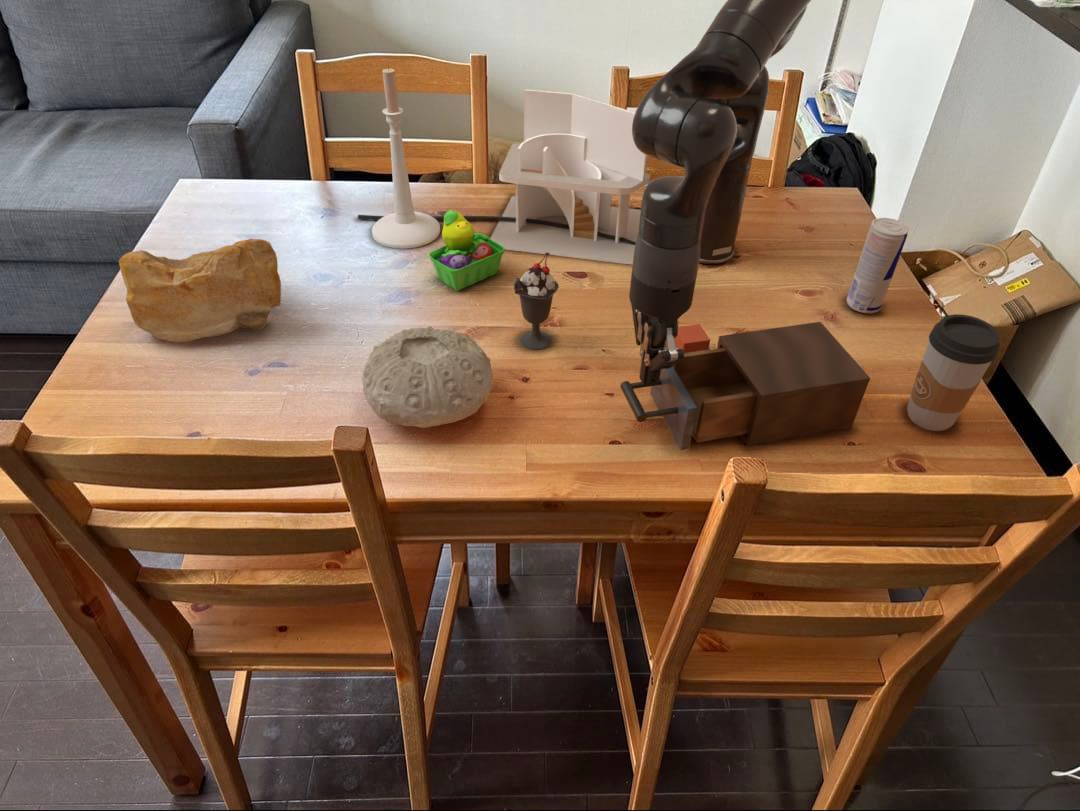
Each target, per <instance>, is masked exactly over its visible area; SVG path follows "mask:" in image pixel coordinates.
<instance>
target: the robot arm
mask: <svg viewBox="0 0 1080 811" xmlns="http://www.w3.org/2000/svg"><path fill="white" fill-rule="evenodd" d="M811 2H812V0H726V1H725V3H724V4H723V5H722V6H721V8H720V9H719V11H718V12H717V14H716V16H715V17H714V19H713V20H712V22H711V24H710V25H709V27H708V28H707V29H706V31H705V33H704V34H703V36H702V37H701V39H700V40H699V42H698V44H697V45H696V47H695V48H694V49H693V50H691V51H690V52H689V53H688V54H687V55H685V56H684V57H683V58H682V59H681V60H680V61H678V63H677V64H676V65H675V66H673V67H672V68H671V69H670V70H669V71H668V72H666V73H665V74H664V75H662V77H660V79H659V80H658V81H656V82H655V83H654V84H653V85H652V87H650V89H649V90H648V91H647V92H646V93H645V95H644V96H643V97H642V99H641V100H640V102H639V104H638V106H637V108H636V110H635V111H634V112H635V115H634V119H633V124H632V136H633V141H634V143H635V145H636V147H637V148H638V150H640V151H641V152H642V153H644V154H645V155H647V157H650V158H653V159H656V160H659V161H662V162H665V163H669V164H671V165H674V166H677V167H679V168H683V169H684V176H682V175H681V176H679V175H667V176H666V175H664V176H659V177H656V178H654V179H652V180H650V182H649V183H648V184H647V185H645V186H644V190H643V192H642V198H641V203H640V204H641V205H640V210H641V214H640V223H639V231H638V237H637V240H636V242H634V241H631V240H628V239H626V238H623V237H620V238H619V241H622V242H625V243H628V244H632V245H635V249H634V257H633V265H631V266H632V267H631V276H630V278H631V279H630V285H629V294H628V295H629V296H628V297H629V298H628V299H629V302H630V306H631V312H632V313H631V314H632V321H633V327H634V328H633V329H634V336H635V343H636V344H635V345H636V346H639V356H640V358H641V362H640V369H639V370H640V371H639V380H640V382H642V384H643V386H649V387H651V386H653V385H657V384H658V383H659V379H660V372H661V369H665V368H666V369H668V368H671V367H673V366H674V365H675V364H677V363H678V362H679V361H681V360H682V359H683V358H684V352H683V350H682V349H678V348H676V345H675V340H674V338H675V337H676V336H677V334H678V327H679V321H678V320H679V319H680V318H681V317H682V316H683V315H684V314H685V313H687V312H688V311H689V310H690V308H691V307H692V304H693V300H694V294H695V288H696V282H697V278H698V277H697V276H698V271H699V264H705V265H720V264H725V263H727V262H729V261H730V260H732V259H733V257H734V254H735V247H736V243H737V242H736V241H737V236H738V232H739V227H740V221H741V217H742V211H743V207H744V201H745V196H746V191H747V187H748V182H749V176H750V171H751V166H752V162H753V156H754V154H755V151H756V146H757V141H758V137H759V133H760V129H761V126H762V121H763V117H764V114H765V110H766V107H767V102H768V98H769V90H770V75H769V71H768V69H767V67H766V64H767V63H768V61H769V59H771V58H773V57H774V56H775V55H777V54H778V53H779V52H780V51H781V50H783V49H784V48H785V46H786V45H787V44H788V43H789V42H790V41H791V39H792V37H793V35H794V34H795V32H796V30H797V28H798V26H799V25H800V22H801V21H802V19H803V18H804V15H805V14H806V11H807V8H808V5H809V4H810V3H811ZM384 216H385V215H372V214H371V215H369V214H358V215H357V219H358V220H375V221H376V220H377V221H378V220H379V219H381V218H382V217H384ZM431 216H432V215H431ZM463 216H464V218H465V219H466V220H467V221H473V220H474V221H500V220H503V221H516V218H515V217H502V216H498V215H496V216H495V215H463ZM432 217H433V218H435V219H436V220H437V221H444V215H436V216H435V215H433V216H432ZM525 222H528V223H537V224H544V225H551V226H557V227H562V228H567V229H570V228H569V225H567V224H562V223H556V222H550V221H543V220H536V219H526V221H525ZM597 236H601V237H605V238H609V239H614V240H615V238H616V236H614V235H609V234H605V233H601V232H598V231H597Z"/></svg>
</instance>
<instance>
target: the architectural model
mask: <svg viewBox="0 0 1080 811" xmlns="http://www.w3.org/2000/svg"><path fill="white" fill-rule="evenodd" d="M635 112H636V111H631V110H628V109H625V108H622V107H618V106H615V105H611V104H609V103H605V102H602V101H599V100H595V99H592V98H589V97H586V96H583V95H579V94H576V93H573V92H572V93H571V92H558V91H548V90H538V89H536V90H535V89H524V90H523V141H522V142H515V143H513V144H512V145H511V146H510V148H509V150H508V152H507V154H506V157H505V159H504V161H503V163H502V165H501V168H500V170H499V173H498V176H499V178H498V179H499V181H501V182H502V183H509V184H514V185H515V195H512V196H511V197H510V199H509V201H508V203H507V205H506V207H505V209H504V211H503V213H502V215H501V217H515V218H516V221H503V220H498V223H497V224H496V226H495V229H494V230H493V232H492V234H491V236H490V237H489V238H490V239H492V240H493V241H495V242H496V243H498V244H500V245H501V246H503V247H504V248H505V250H506V251H516V252H523V253H531V254H541V255H545V253H550V254H549V255H548V256H558V257H564V258H574V259H581V260H582V259H583V260H590V261H591V260H592V261H599V262H606V263H615V264H624V265H631V266H633V257H634V249H635V245H632V244H628V243H625V242H622V241H619V238H620V237H623V238H626V239H628V240H631V241H634V242H636V240H637V237H638V231H639V223H640V214H641V209H637V208H630V202H631V195H632V194H634V193H635V192H638V191H639V190H640V189H643V188H645V187H646V186H647V184H648V183H649V182H651V174H650V173H648V172H647V161H648V156H647V155H645V154H644V153H642V152H641V151H640V150H638V148H637V147H636V145H635V143H634V141H633V136H632V124H633V119H634V115H635ZM613 195H617V196H618V195H619V196H618V203H617V206H612V204H613V203H612V202H613ZM526 219H536V220H543V221H550V222H556V223H562V224H567V225H569V228H570V229H567V228H562V227H557V226H551V225H544V224H537V223H528V222H525V221H526ZM597 231H598V232H601V233H605V234H609V235H614V236H616V238H615V240H614V239H609V238H605V237H601V236H597Z"/></svg>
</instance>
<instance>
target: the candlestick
mask: <svg viewBox="0 0 1080 811" xmlns="http://www.w3.org/2000/svg"><path fill="white" fill-rule="evenodd" d="M382 79H383V88H384V97H385V104H386V108H383V109H382V113H383V114H384V115H385V121H386V123H388V125H389V131H388V134H389V143H390V144H389V146H390V157H391V174H392V190H393V191H392V192H393V210H394V212H391V213H389V214H385V215H383V216H384V217H382V218H381V219H379V220H377V221H376V222H375V223H374V224H373V226H372V228H371V235H372V238H373V240H374V241H375V242H376V243H378V244H379V245H381V246H384V247H388V248H391V249H403V250H404V249H405V250H406V249H414V248H415V249H416V248H420V247H423V246H427V245H428V244H431V243H432V242H433V241H435V240H437V238H439V236H440V233H441V224H440V222H439V220H436V219H435V218H433V217H432V215H430V214H428V213H425V212H422V211H417V210H414V205H413V199H412V192H411V185H410V180H409V174H408V167H407V161H406V154H405V148H404V143H403V142H404V141H403V135H402V133H403V132H402V130H401V129H400V126H401V122H402V120H403V118H402V114H403V113H404V109H403V108H402V107H399V100H398V99H399V98H398V89H397V81H396V70H395V69H394V68H390V67H389V66H388V67H387V68H384V69H382Z"/></svg>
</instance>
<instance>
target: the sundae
mask: <svg viewBox="0 0 1080 811" xmlns="http://www.w3.org/2000/svg"><path fill="white" fill-rule="evenodd" d="M549 254H550V253H545V254H544V256H543V258H542V259H541V260H540V261H539V262H538V263H537V262H535V263H533V265H532V267H529V268H528V269H526V270H525V272H524V273H523V274H522V276H520V277H518V276H515V279H516V280H515V281H514V283H513V290H514V294H515V295H518V297H519V300H520V301H519V302H520V307H521V312H522V316H523V318H524V320H525V321H527V322H528V323H529V324H531V330H529V331H526V332H524V333H522V335H521V336H520V338H519V342H520V345H521V346H523V347H524V348H526V349H528V350H532V351H540V350H543V349H546V348H547V347H549V346H550V345H551V343H552V337H551V335H550V334H549V333H547V332H545V331H541V329H540V325H541V324H543V323H544V322H545V321H546V320H548V318H549V316H550V313H551V308H552V302H553V298H554V295H555V294H556V292H557V291H558V289H559V287H560V286H559V283H558V282H557V281H556V280H555V278H554V276H553V275H552V274H551V273H550V272H551V269H550V267H548V266H547V259H548V256H550V255H549ZM544 259H545V262H544V266H542V265H541V263H542V262H543V261H544ZM541 266H542V267H541Z"/></svg>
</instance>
